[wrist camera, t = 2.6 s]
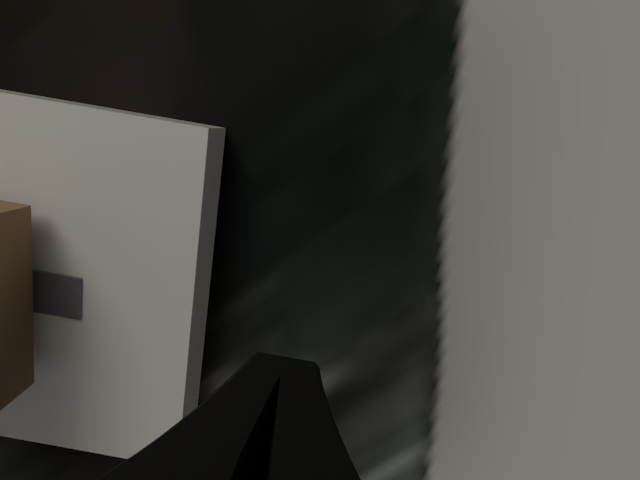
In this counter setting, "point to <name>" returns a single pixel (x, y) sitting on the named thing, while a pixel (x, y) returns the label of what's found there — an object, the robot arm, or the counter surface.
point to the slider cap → (15, 301)
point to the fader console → (111, 268)
